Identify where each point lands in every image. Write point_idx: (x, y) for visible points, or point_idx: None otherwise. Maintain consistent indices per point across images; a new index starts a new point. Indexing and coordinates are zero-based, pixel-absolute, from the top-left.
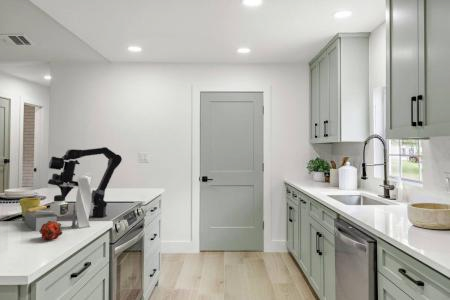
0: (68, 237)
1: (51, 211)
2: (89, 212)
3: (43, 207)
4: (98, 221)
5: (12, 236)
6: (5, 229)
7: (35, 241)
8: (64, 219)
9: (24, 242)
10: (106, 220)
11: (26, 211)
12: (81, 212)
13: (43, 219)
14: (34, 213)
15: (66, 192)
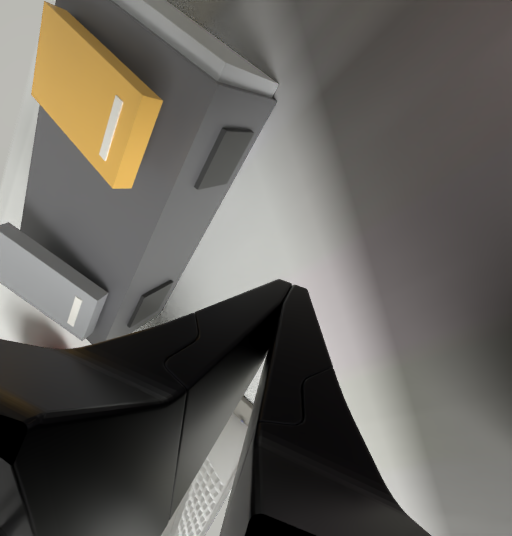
0: None
1: (85, 307)
2: (209, 522)
3: (98, 168)
4: (388, 482)
5: None
6: (33, 74)
7: (29, 338)
8: (398, 213)
9: (10, 314)
10: (439, 528)
11: (59, 5)
12: None
13: None
14: (55, 169)
15: (244, 441)
